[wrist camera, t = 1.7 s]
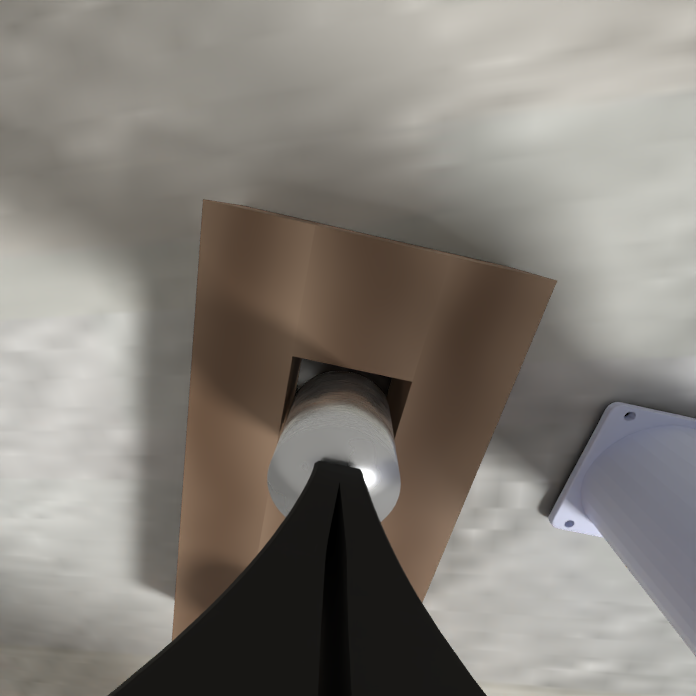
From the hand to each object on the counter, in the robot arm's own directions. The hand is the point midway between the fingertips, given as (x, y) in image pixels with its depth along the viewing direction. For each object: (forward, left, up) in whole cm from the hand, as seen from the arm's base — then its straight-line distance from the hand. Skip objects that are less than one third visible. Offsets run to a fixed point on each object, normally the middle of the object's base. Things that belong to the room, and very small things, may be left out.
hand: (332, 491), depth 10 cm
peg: (0, 0, -4) cm, 4 cm away
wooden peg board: (0, +6, -8) cm, 10 cm away
